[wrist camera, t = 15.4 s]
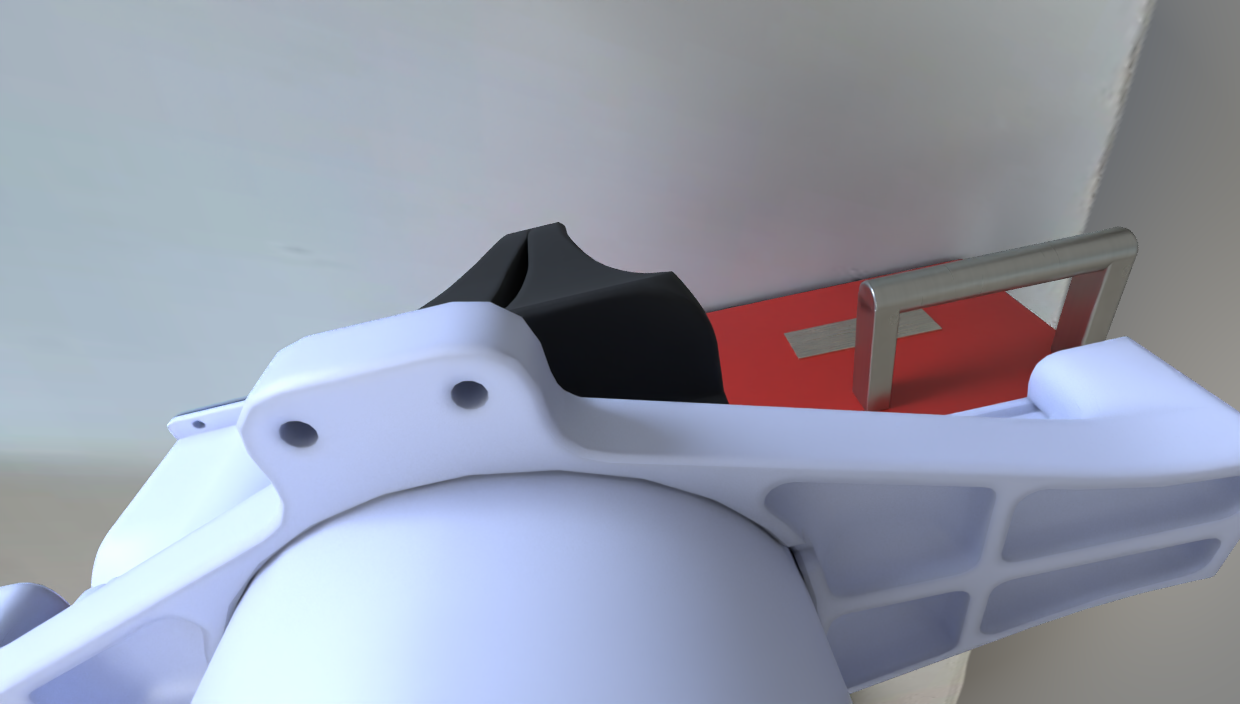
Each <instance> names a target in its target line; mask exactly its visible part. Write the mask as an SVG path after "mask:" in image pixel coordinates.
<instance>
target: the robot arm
mask: <svg viewBox="0 0 1240 704" xmlns="http://www.w3.org/2000/svg"><path fill="white" fill-rule="evenodd" d="M199 421H202V422H203V423H201V422H199ZM167 427H168V430H169V431H170V432H171V433H172V434H173V435H174V437H175V438H176V439H177V440H178V441H177V442H176V444H175V445H174V446H173V448H172V449H171V450H170V452H169V453H168V454H167V455H166V457H165V458H164V459H163V461H162V462H161V463H160V465H159V466H158V467H157V469H156V470H155V471H154V473H153V474H152V475H151V477H150V478H149V479H148V481H147V482H146V483H145V485H144V486H143V487H142V488H141V490H140V491H139V492H138V494H137V495H136V496H135V498H134V499H133V500H132V502H131V503H130V504H129V506H128V507H127V508H126V510H125V511H124V512H123V514H122V515H121V516H120V518H119V519H118V520H117V522H116V523H115V524H114V525H113V527H112V528H111V529H110V531H109V532H108V534H107V535H106V537H105V539H104V540H103V542H102V544H101V546H100V548H99V550H98V553H97V556H96V559H95V563H94V567H93V572H92V581H91V588H90V589H88V590H86V591H85V592H84V593H83V594H82V595H81V596H80V597H79V598H78V599H77V600H76V602H75V603H74V604H73V605H72V606H70V605H69V603H68V602H67V601H66V600H65V599H63V598H62V597H61V596H60V595H59V594H57V593H56V592H55V591H53V590H52V589H49V588H47V587H45V586H43V585H40V584H35V583H17V584H12V585H7V586H3V587H0V704H853V702H852V700H851V697H850V695H849V694H851V693H854V692H856V691H859V690H862V689H865V688H867V687H870V686H873V685H876V684H878V683H881V682H884V681H887V680H889V679H892V678H895V677H897V676H900V675H903V674H906V673H908V672H911V671H914V670H917V669H919V668H922V667H925V666H928V665H930V664H933V663H936V662H939V661H941V660H944V659H947V658H949V657H952V656H955V655H958V654H960V653H963V652H966V651H969V650H971V649H974V648H977V647H980V646H982V645H985V644H988V643H991V642H993V641H996V640H999V639H1001V638H1004V637H1007V636H1009V635H1012V634H1015V633H1018V632H1021V631H1023V630H1026V629H1029V628H1031V627H1034V626H1037V625H1041V624H1043V623H1046V622H1049V621H1052V620H1055V619H1058V618H1061V617H1064V616H1067V615H1070V614H1073V613H1075V612H1079V611H1082V610H1085V609H1088V608H1092V607H1095V606H1099V605H1102V604H1106V603H1109V602H1113V601H1116V600H1120V599H1123V598H1127V597H1130V596H1134V595H1137V594H1141V593H1145V592H1149V591H1153V590H1157V589H1162V588H1166V587H1171V586H1175V585H1179V584H1183V583H1188V582H1192V581H1196V580H1201V579H1206V578H1210V577H1213V576H1214V575H1215V574H1216V573H1217V572H1218V570H1219V569H1220V567H1221V566H1222V564H1223V563H1224V561H1225V560H1226V558H1227V557H1228V555H1229V554H1230V552H1231V551H1232V549H1233V548H1234V547H1235V545H1236V544H1237V542H1238V541H1239V539H1240V412H1239V411H1237V410H1236V409H1234V408H1233V407H1231V406H1230V405H1229V404H1227V403H1226V402H1224V401H1223V400H1221V399H1220V398H1218V397H1217V396H1215V395H1214V394H1212V393H1210V392H1209V391H1208V390H1206V389H1205V388H1203V387H1202V386H1200V385H1199V384H1197V383H1196V382H1194V381H1193V380H1192V379H1190V378H1189V377H1187V376H1186V375H1184V374H1183V373H1181V372H1179V371H1178V370H1176V369H1175V368H1174V367H1172V366H1171V365H1169V364H1168V363H1166V362H1165V361H1163V360H1162V359H1160V358H1159V357H1157V356H1156V355H1155V354H1153V353H1151V352H1150V351H1149V350H1147V349H1146V348H1144V347H1143V346H1141V345H1140V344H1138V343H1137V342H1135V341H1134V340H1132V339H1131V338H1129V337H1120V338H1115V339H1111V340H1106V341H1102V342H1097V343H1093V344H1088V345H1084V346H1079V347H1075V348H1070V349H1066V350H1061V351H1057V352H1055V353H1052V354H1050V355H1048V356H1046V357H1045V358H1043V359H1042V360H1041V361H1040V362H1039V363H1037V364H1036V366H1035V368H1034V370H1033V372H1032V373H1031V376H1030V380H1029V383H1028V394H1027V397H1025V398H1021V399H1016V400H1012V401H1007V402H1003V403H998V404H994V405H989V406H985V407H980V408H975V409H971V410H966V411H962V412H957V413H953V414H948V415H934V414H913V413H893V412H872V411H852V410H832V409H811V408H791V407H770V406H750V405H729V402H728V400H727V397H726V394H725V392H724V387H723V379H722V372H721V365H720V358H719V350H718V343H717V339H716V335H715V332H714V329H713V327H712V324H711V322H710V320H709V318H708V316H707V315H706V313H705V311H704V310H703V308H702V307H701V305H700V304H699V302H698V301H697V300H696V298H695V297H694V296H693V294H692V293H691V292H690V290H689V289H688V288H687V287H686V286H685V284H684V283H683V282H682V281H681V280H680V279H679V278H678V277H677V275H676V274H674V273H673V272H659V273H635V272H627V271H622V270H618V269H614V268H611V267H608V266H605V265H603V264H601V263H599V262H597V261H595V260H594V259H592V258H591V257H590V256H588V255H587V254H586V253H584V252H583V251H582V250H581V249H580V248H579V247H578V246H577V245H576V244H575V243H574V242H573V241H572V240H571V239H570V237H569V236H568V234H567V231H566V228H565V226H564V225H563V224H561V223H560V222H557V223H553V224H548V225H544V226H540V227H536V228H532V229H528V230H524V231H519V232H515V233H511V234H507V235H505V236H504V237H503V238H501V239H500V240H499V241H498V242H497V243H496V244H495V245H494V246H493V247H492V248H491V249H490V250H489V251H488V252H487V253H486V254H485V255H484V256H483V257H482V258H481V259H480V260H479V261H478V262H477V263H476V264H475V265H474V266H473V267H472V268H471V269H470V270H469V271H467V272H466V273H465V274H464V275H463V276H462V277H461V278H460V279H459V280H457V281H456V282H455V283H454V284H453V285H452V286H451V287H449V288H448V289H447V290H446V291H444V292H443V293H442V294H440V295H439V296H437V297H436V298H435V299H433V300H432V301H430V302H429V303H427V304H426V305H424V306H423V307H421V308H420V309H418V310H415V311H411V312H407V313H403V314H399V315H394V316H390V317H386V318H382V319H377V320H373V321H369V322H365V323H361V324H356V325H352V326H348V327H344V328H339V329H335V330H331V331H327V332H322V333H318V334H314V335H310V336H306V337H304V338H302V339H300V340H298V341H297V342H295V343H293V344H291V345H289V346H287V347H286V348H284V349H282V350H280V351H278V353H277V354H276V355H275V357H274V358H273V360H272V361H271V363H270V364H269V366H268V367H267V369H266V370H265V372H264V373H263V375H262V376H261V378H260V379H259V381H258V382H257V384H256V385H255V387H254V388H253V390H252V391H251V392H250V394H249V395H248V397H247V398H246V400H245V401H240V402H236V403H232V404H228V405H224V406H219V407H215V408H211V409H207V410H203V411H198V412H194V413H190V414H186V415H181V416H177V417H174V418H172V420H171V421H170V422H169V424H168V425H167Z"/></svg>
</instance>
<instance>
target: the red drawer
mask: <svg viewBox="0 0 1240 704" xmlns="http://www.w3.org/2000/svg"><path fill="white" fill-rule="evenodd" d="M1137 253H1138V242H1137V239H1136V237H1135V235H1134V234H1133V233H1132V232H1131V231H1130V230H1129V229H1126V228H1123V227H1114V228H1109V229H1105V230H1100V231H1095V232H1091V233H1086V234H1081V235H1076V236H1072V237H1067V238H1062V239H1058V240H1053V241H1048V242H1044V243H1039V244H1034V245H1029V246H1025V247H1020V248H1015V249H1011V250H1006V251H1001V252H997V253H992V254H987V255H982V256H978V257H973V258H968V259H964V260H963V259H958V260H953V261H949V262H944V263H939V264H935V265H930V266H925V267H920V268H916V269H911V270H906V271H902V272H897V273H892V274H888V275H883V276H878V277H873V278H869V279H864V280H859V281H855V282H850V283H845V284H841V285H836V286H831V287H826V288H822V289H817V290H812V291H808V292H803V293H798V294H794V295H789V296H784V297H779V298H775V299H770V300H765V301H761V302H756V303H751V304H747V305H742V306H737V307H732V308H728V309H723V310H718V311H714V312H709V313H706V315H707V316H708V318H709V320H710V322H711V324H712V327H713V329H714V332H715V335H716V339H717V343H718V350H719V358H720V365H721V372H722V379H723V387H724V392H725V394H726V397H727V400H728V402H729V405H750V406H770V407H791V408H811V409H832V410H852V411H872V412H893V413H913V414H934V415H948V414H953V413H957V412H962V411H966V410H971V409H975V408H980V407H985V406H989V405H994V404H998V403H1003V402H1007V401H1012V400H1016V399H1021V398H1025V397H1027V394H1028V383H1029V380H1030V376H1031V373H1032V372H1033V370H1034V368H1035V366H1036V364H1037V363H1039V362H1040V361H1041V360H1042V359H1043V358H1045V357H1046V356H1048V355H1050V354H1052V353H1055V352H1057V351H1061V350H1066V349H1070V348H1075V347H1079V346H1084V345H1088V344H1093V343H1097V342H1102V341H1105V340H1106V336H1107V334H1108V331H1109V329H1110V326H1111V323H1112V321H1113V318H1114V315H1115V313H1116V310H1117V307H1118V304H1119V301H1120V299H1121V296H1122V294H1123V291H1124V288H1125V285H1126V282H1127V280H1128V277H1129V274H1130V272H1131V269H1132V266H1133V263H1134V261H1135V258H1136V256H1137ZM1070 277H1072V280H1071V283H1070V286H1069V290H1068V293H1067V296H1066V300H1065V303H1064V306H1063V309H1062V313H1061V316H1060V319H1059V323H1058V326H1057V329H1056V330H1055V329H1053V328H1052V327H1051V326H1049V325H1048V324H1047V323H1046V322H1044V321H1043V320H1042V319H1040V318H1039V317H1038V316H1036V315H1035V314H1034V313H1032V312H1031V311H1030V310H1028V309H1027V308H1026V307H1025V306H1023V305H1022V304H1021V303H1019V302H1018V301H1017V300H1015V299H1014V298H1013V297H1011V296H1010V295H1009V294H1007V293H1006V292H1005V291H1008V290H1013V289H1017V288H1022V287H1027V286H1032V285H1036V284H1041V283H1046V282H1051V281H1055V280H1060V279H1065V278H1070Z"/></svg>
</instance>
